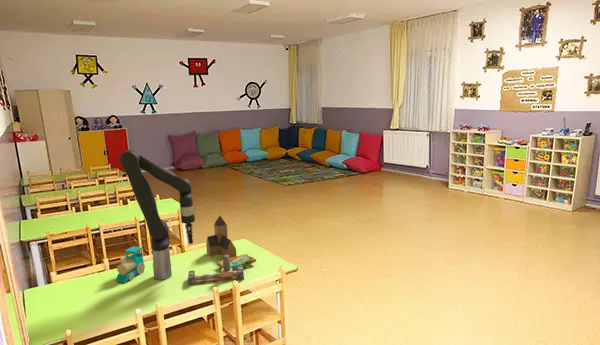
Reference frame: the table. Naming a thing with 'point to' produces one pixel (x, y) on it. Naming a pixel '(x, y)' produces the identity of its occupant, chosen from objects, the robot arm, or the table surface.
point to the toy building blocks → (220, 241)
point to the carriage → (226, 267)
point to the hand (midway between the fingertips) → (190, 241)
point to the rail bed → (214, 277)
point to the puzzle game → (238, 261)
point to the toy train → (130, 265)
